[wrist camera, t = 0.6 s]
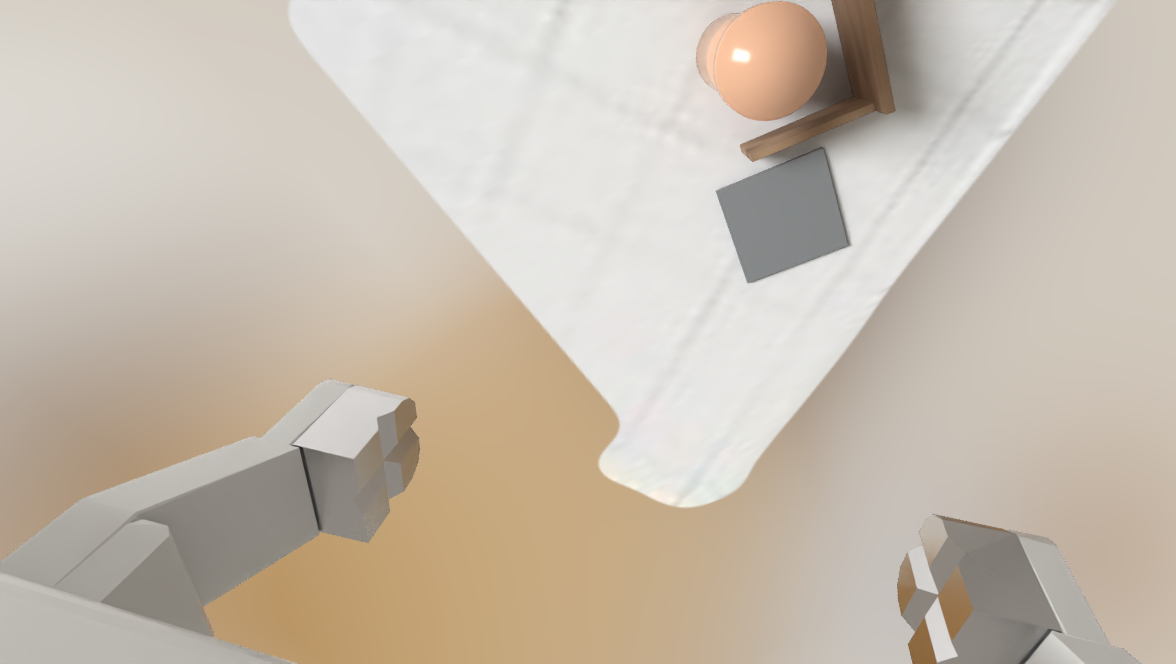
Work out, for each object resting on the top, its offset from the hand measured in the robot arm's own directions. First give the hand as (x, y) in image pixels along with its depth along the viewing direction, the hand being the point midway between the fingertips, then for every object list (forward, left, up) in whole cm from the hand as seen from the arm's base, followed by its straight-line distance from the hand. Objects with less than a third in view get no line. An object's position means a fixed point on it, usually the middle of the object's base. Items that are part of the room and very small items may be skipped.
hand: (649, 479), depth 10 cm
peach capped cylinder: (-8, +5, -43) cm, 44 cm away
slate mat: (0, +17, -43) cm, 46 cm away
